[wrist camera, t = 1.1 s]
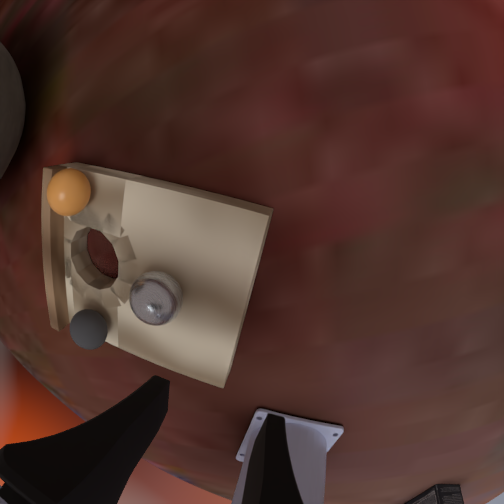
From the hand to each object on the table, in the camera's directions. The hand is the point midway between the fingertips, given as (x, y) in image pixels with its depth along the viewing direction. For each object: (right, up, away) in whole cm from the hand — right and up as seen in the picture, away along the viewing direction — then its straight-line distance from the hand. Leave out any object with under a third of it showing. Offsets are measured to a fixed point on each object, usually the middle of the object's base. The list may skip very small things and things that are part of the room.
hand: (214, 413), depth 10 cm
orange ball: (-10, +10, +5) cm, 15 cm away
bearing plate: (-6, +5, +10) cm, 13 cm away
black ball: (-10, +1, +9) cm, 14 cm away
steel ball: (-4, +4, +6) cm, 8 cm away
